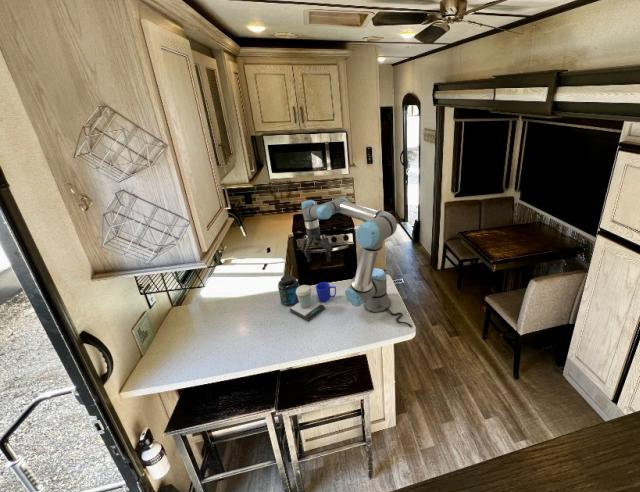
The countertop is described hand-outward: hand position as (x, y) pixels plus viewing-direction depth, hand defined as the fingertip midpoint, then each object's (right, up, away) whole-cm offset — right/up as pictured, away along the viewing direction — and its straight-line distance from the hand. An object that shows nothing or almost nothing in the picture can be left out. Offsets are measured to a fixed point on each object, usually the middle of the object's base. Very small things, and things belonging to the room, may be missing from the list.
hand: (319, 261), depth 194 cm
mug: (+3, -25, +9) cm, 26 cm away
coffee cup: (-7, -26, -1) cm, 27 cm away
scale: (-6, -29, -1) cm, 29 cm away
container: (-19, -25, +8) cm, 33 cm away
